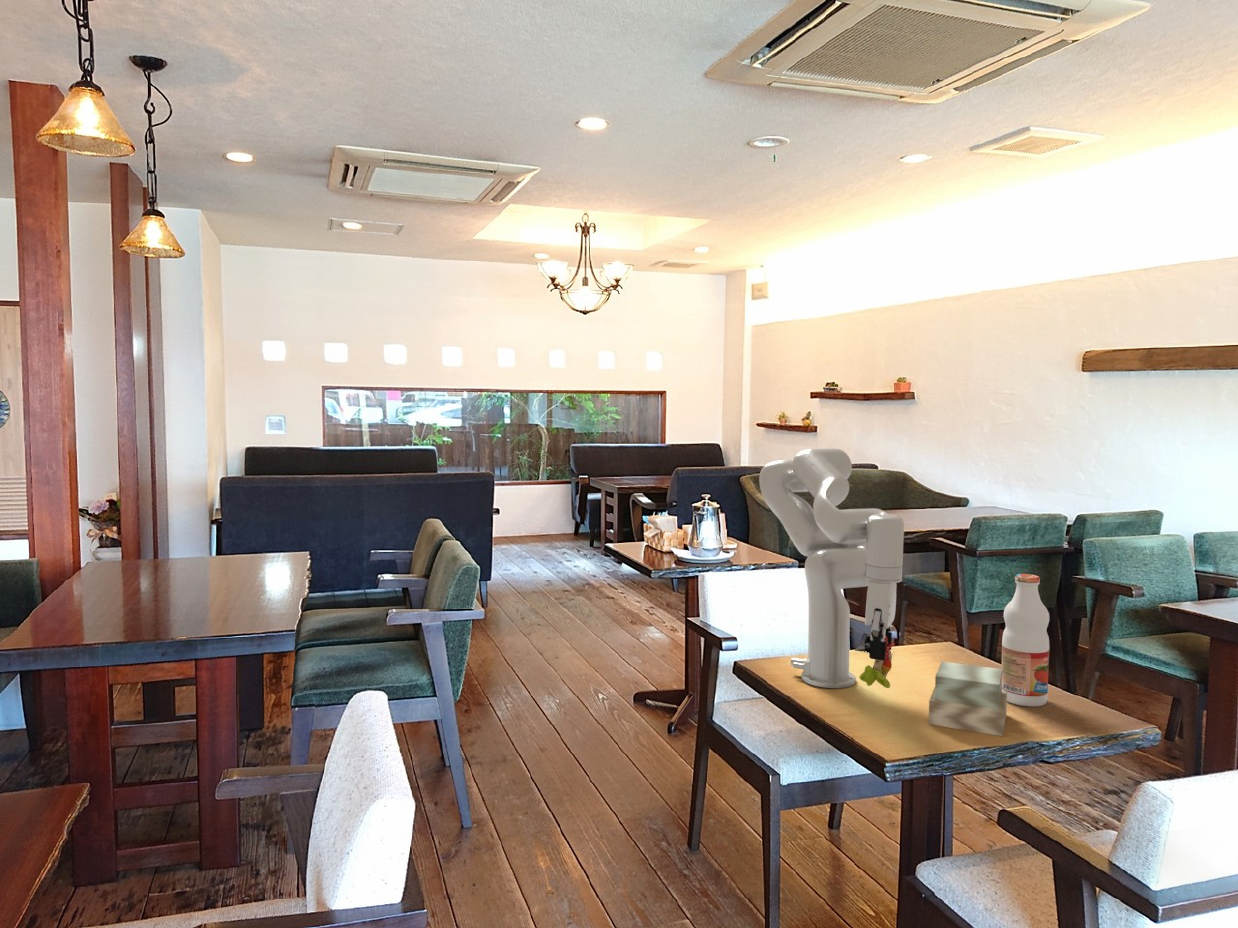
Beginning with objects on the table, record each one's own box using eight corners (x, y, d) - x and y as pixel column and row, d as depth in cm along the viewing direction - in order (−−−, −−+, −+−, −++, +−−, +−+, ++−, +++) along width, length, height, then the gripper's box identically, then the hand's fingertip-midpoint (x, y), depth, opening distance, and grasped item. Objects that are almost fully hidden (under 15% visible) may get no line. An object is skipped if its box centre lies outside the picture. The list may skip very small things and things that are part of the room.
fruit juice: (1000, 690, 193) (1004, 570, 191) (1046, 696, 189) (1050, 573, 187) (1000, 703, 184) (1003, 578, 183) (1048, 710, 181) (1052, 581, 179)
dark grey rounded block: (846, 651, 226) (847, 635, 225) (855, 645, 232) (855, 629, 231) (893, 659, 219) (893, 642, 218) (901, 652, 225) (901, 635, 224)
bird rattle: (866, 687, 184) (855, 681, 177) (874, 637, 187) (864, 629, 180) (895, 693, 181) (885, 687, 174) (903, 642, 184) (894, 635, 177)
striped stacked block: (928, 724, 173) (929, 676, 172) (936, 704, 184) (937, 659, 184) (1003, 736, 166) (1004, 686, 166) (1006, 714, 178) (1007, 668, 177)
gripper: (873, 562, 188) (870, 640, 190) (857, 579, 173) (854, 663, 174) (908, 566, 185) (904, 645, 186) (895, 583, 169) (891, 669, 171)
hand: (880, 653), depth 180 cm, fingers closed on bird rattle, 6 cm apart
